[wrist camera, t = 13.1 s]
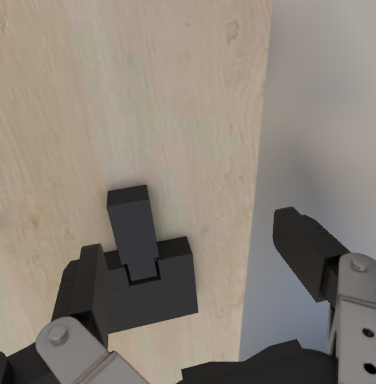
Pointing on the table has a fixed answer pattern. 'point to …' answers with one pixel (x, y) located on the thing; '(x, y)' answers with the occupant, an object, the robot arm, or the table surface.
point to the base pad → (153, 288)
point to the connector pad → (134, 230)
